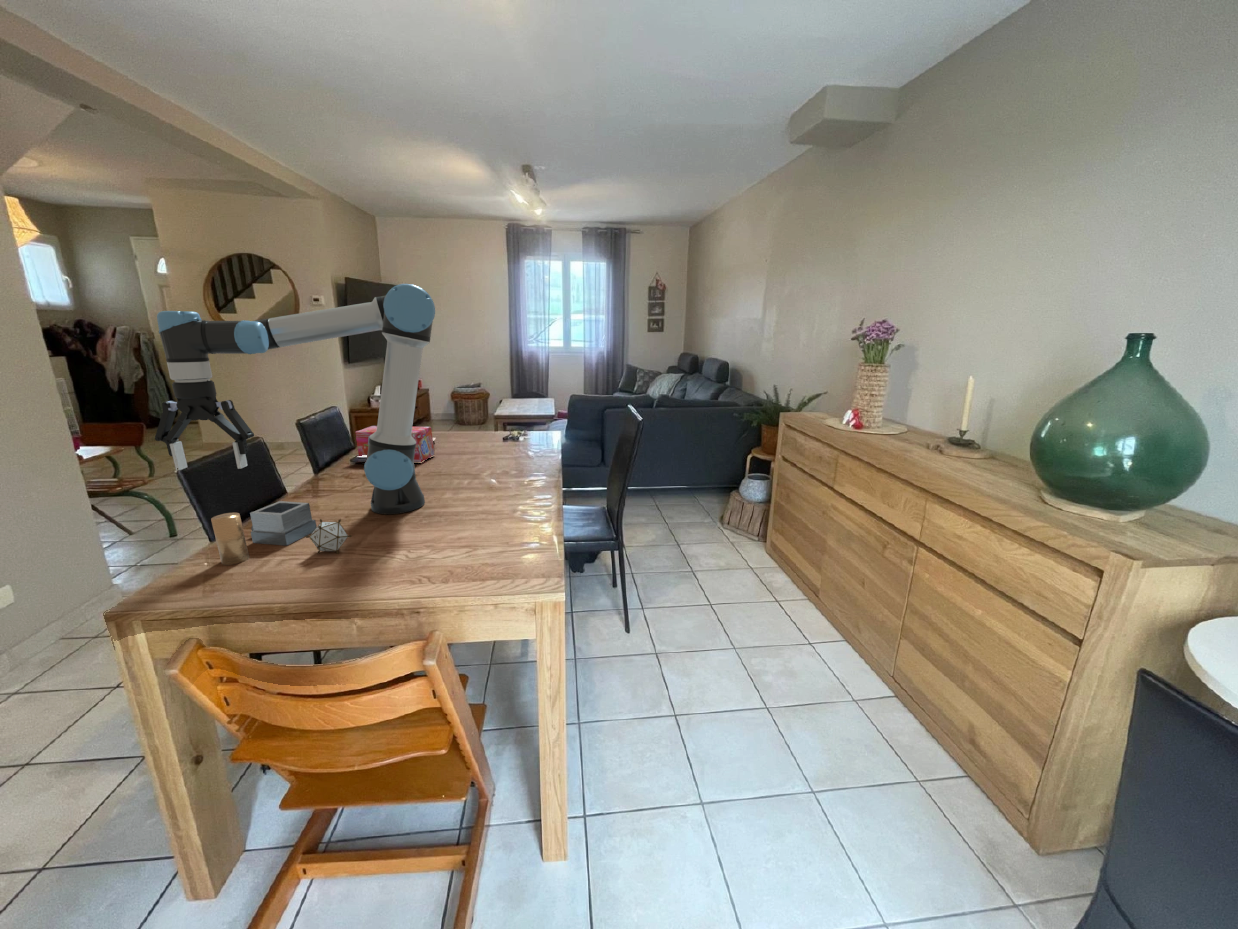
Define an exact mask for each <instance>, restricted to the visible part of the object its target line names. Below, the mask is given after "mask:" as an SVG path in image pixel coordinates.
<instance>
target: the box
mask: <svg viewBox="0 0 1238 929" xmlns="http://www.w3.org/2000/svg"><path fill="white" fill-rule="evenodd" d="M376 431H377V425H371V426H368V427H365V428H363V429H360V430H356V431H355V439H356V441H355V442H356V447H357V452H358V453H357V454H358V457H359V456H362V455H367V454H368V446H369V445H368V437H369V436H370V435H372V434H373V433H374V432H376ZM411 436H412V437H413V438H414V439H415V441H416V447H415V455H414V462H422V461H423V460H426V459H428V458H430V457H431V456H433V455H435V448H434V446H435V445H434V439H433V431H432V426H413V425H412V433H411Z"/></svg>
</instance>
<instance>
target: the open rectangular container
mask: <svg viewBox="0 0 1238 929" xmlns="http://www.w3.org/2000/svg"><path fill="white" fill-rule="evenodd" d="M311 511H312V510H311V506H310V502H299V501H286V500H285V501H283V500H278V501H277V502H275V503H271V504H268V505H266V506H264V507H261V508H259V509H257V510H255V511H251V512H249V514H250V519H251V524H252V526H251V529H250V530H251V531H250V536H251V539H252V541H251V542H252V543H253V544H261V545H262V544H263V545H275V546H276V545H277V546H289V545H291V544H293V543H295V542H297V541H299V540H302V539H304V538H306V537H305V536H310V535H311V534H312V532H313V531H314V530H315V529H316V528H317V526H318V525H317V522H316V519H313V517H312V513H311Z"/></svg>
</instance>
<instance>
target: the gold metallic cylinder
mask: <svg viewBox="0 0 1238 929" xmlns="http://www.w3.org/2000/svg"><path fill="white" fill-rule="evenodd" d="M240 514H241V513H239V512H226V513H221V514H218V515H214V516H213V517H211V518H210V520H211V526H212V529H213V533H214V536H215V542H216V546H217V549H218V553H219V554H218V555H219V558H220V563H221V565H223V566H232V565H233V566H234V565H237V564H241V563H243V562H246V561H248V560H249V558H250V554H249V550H248V545H247V542H246V541H247V540H246V536H245V532H244V528H243V523H242V519H241V515H240Z"/></svg>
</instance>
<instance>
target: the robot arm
mask: <svg viewBox="0 0 1238 929" xmlns="http://www.w3.org/2000/svg"><path fill="white" fill-rule="evenodd" d="M435 315H436V306H435V303H434V300H433V299H432V296H431V295H430V294H429V293H428V292H427V291H426V290H425V289H423V288H422V287H421V286H417V285H415V284H410V283H399V284H397V285H394V286H393V287H391V289H389V290H388V291H387V293H386V294H385V295H382V296H375V297H374V298H373V299H372V301H371V302H370V301H369V302H363V303H357V304H351V305H345V306H338V307H333V308H325V309H319V310H313V311H306V312H300V313H294V314H288V315H282V316H276V317H269V318H262V319H257V320H251V321H250V320H204V319H202V318H201V316H200V313H199V312H196V311H191V310H190V311H187V310H186V311H183V310H179V311H178V310H163V311H162V310H161V311H159V312H158V313H157V314H156V320H157V326H158V334H159V337H160V340H161V344H162V347H163V352H164V354H165V360H166V365H167V369H168V375H169V379H170V380H172V381H173V382H172V383H171V386H172V390H173V394H174V397H175V398H176V400H177V401H175V400H169V401H168V400H167V401H163V402H162V403H161V407H162V408H161V409H162V413H161V417H160V420H159V423H158V426H157V430H156V432H155V436H154V440H155V441H157V442H163V443H165V444H166V448H167V452H168V455H169V457H172V459H173V463H174V467H175V471H182V470H184V469H186V468H187V469H188V463H187V459H186V455H185V450H184V445H183V442H182V441H181V440H180V441H179V438H180V436H181V435H182V434H183V433H184V431H185V430H186V428H187V426H188V425H189V424H190V423H191V421H198V420H199V421H210V422H211V423H214V424H215V425H216V426H217V427H219V428H220V429H222V431H224V432H225V433H226V434H227V435H228V436H230V438H232V440H234V441H233V442H232V441H231V442H232V447H233V448H232V449H233V453H234V457H235V463H236V467H237V469H238V470H239V469H243V468H245V467H247V466H248V460H247V456H246V454H248V453H249V448H248V443H247V441H248V439H250V438H254V437H255V434H254V432H253V430H252V429H251V428H250V427H249V425H248V423H247V422H246V421H245V420H244V419H243V417H242V416H241V415H240V414H239V412H238V411H237V409H236V408H235V405H234V403H233V400H232V399H226V400H223V401H218V399H217V390H216V385H215V381H213V380H212V378H213V372H212V367H211V363H210V358H209V354H210V355H217V354H220V355H221V354H228V355H229V354H230V355H233V354H234V355H242V354H243V355H244V354H245V355H246V354H247V355H256V354H265V353H267V351H269V350H274V349H278V348H285V347H291V346H296V345H302V344H306V343H307V344H308V343H312V342H319V341H324V340H330V339H337V338H343V337H347V336H354V335H360V334H365V333H370V332H371V333H372V332H376V331H381V334H382V336H383V337H384V338H385V339H386V341H387V342H386V351H385V358H384V368H383V376H382V382H381V383H382V384H381V385H382V386H381V393H380V400H379V407H378V408H379V410H378V418H377V424H376V426H377V431H376V432H374V433H373V434H372V435H370V436H369V437H368V445H369V446H368V454H367V460H366V462H365V463H364V466H363V470H364V473H365V477H366V479H367V480H368V482H369V483H370V484H371V485H373V489H372V494H371V500H370V508H371V511H372V513H373V512H374V514H379V515H396V514H397V515H398V514H403V513H408V512H412V511H414V510H417V509H419V508H421V507H423V506H424V505H425V504H426V502H425V495H424V493H423V490H422V489H421V487H420V484H419V483H418V481H417V477H416V469H415V464H414V455H415V447H416V441H415V439H414V438H413V437H412V436H411V433H412V426H413V425H414V424H413V423H414V416H415V410H416V401H417V393H418V386H419V380H420V379H419V378H420V373H421V365H422V357H423V356H422V355H423V350H424V348H425V347H426V346H427V345H430V344H431V343H430V342H431V336H432V329H433V322H434V319H435V317H436V316H435ZM219 409H220V410H219ZM177 410H179V411H180V412H181V413H180V414H179V416H178V417H177V421H176V422H175V424H173V423H174V421H175V417H176V414H177ZM221 411H222V412H223V413H224V415H223V413H221ZM225 416H226V417H227V418H226V417H225ZM177 468H178V470H177Z"/></svg>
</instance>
